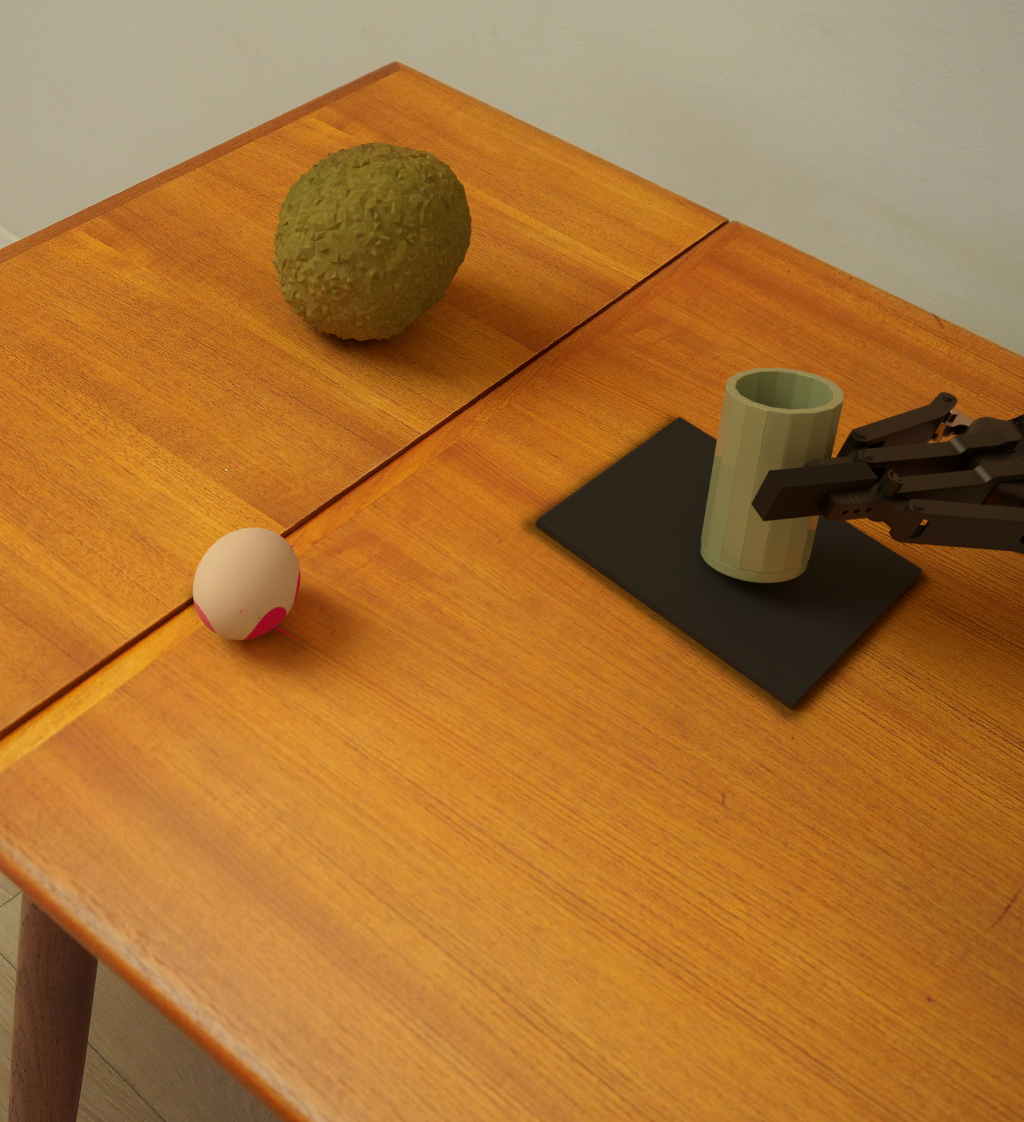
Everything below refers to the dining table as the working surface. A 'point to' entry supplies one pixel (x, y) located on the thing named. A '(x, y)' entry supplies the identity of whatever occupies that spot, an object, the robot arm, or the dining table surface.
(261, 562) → the stress ball
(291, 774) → the dining table surface
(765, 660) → the mat
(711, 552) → the cup
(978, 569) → the dining table surface
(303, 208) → the fruit
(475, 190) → the dining table surface
